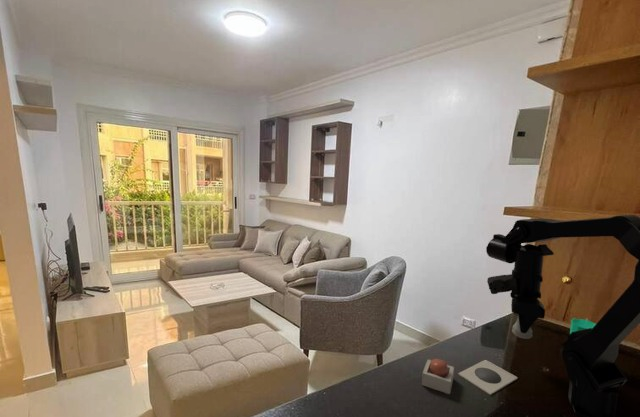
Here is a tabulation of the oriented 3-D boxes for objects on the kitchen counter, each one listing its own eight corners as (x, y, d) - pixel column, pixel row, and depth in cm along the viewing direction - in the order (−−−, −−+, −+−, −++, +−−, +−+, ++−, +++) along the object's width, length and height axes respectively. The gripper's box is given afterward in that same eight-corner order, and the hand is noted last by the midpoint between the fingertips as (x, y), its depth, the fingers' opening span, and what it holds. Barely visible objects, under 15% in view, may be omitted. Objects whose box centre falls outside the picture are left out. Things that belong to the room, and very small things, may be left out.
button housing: (453, 378, 73) (454, 367, 73) (449, 394, 68) (450, 382, 68) (427, 370, 76) (427, 359, 76) (422, 385, 71) (422, 372, 71)
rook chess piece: (534, 335, 78) (537, 305, 77) (529, 341, 75) (532, 310, 74) (514, 328, 81) (517, 299, 80) (509, 334, 78) (511, 304, 77)
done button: (447, 371, 72) (448, 361, 72) (445, 380, 69) (445, 370, 69) (431, 366, 74) (432, 357, 74) (428, 374, 71) (429, 365, 71)
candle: (603, 370, 76) (609, 325, 75) (575, 367, 77) (580, 322, 76) (587, 356, 82) (592, 313, 80) (562, 353, 83) (566, 311, 82)
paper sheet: (485, 360, 80) (485, 359, 80) (517, 378, 73) (517, 377, 73) (458, 374, 75) (458, 372, 75) (490, 395, 68) (490, 393, 68)
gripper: (491, 255, 88) (487, 307, 90) (489, 274, 72) (485, 336, 74) (539, 261, 82) (533, 316, 84) (548, 283, 66) (541, 350, 68)
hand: (522, 328), depth 78 cm, fingers closed on rook chess piece, 4 cm apart
